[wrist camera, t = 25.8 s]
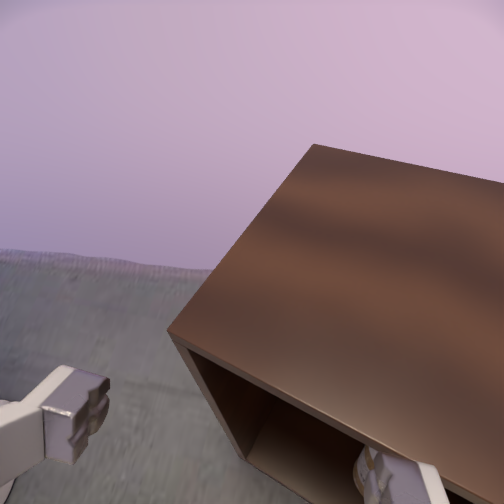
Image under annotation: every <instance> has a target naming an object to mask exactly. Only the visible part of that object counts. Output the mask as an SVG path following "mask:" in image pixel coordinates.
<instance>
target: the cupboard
mask: <svg viewBox="0 0 504 504" xmlns="http://www.w3.org/2000/svg"><path fill="white" fill-rule="evenodd" d="M167 332H168V334H169V336H170V337H171V339H172V341H173V343H174V345H175V346H176V348H177V350H178V352H179V353H180V355H181V357H182V359H183V360H184V362H185V364H186V366H187V367H188V369H189V371H190V372H191V374H192V376H193V378H194V379H195V381H196V383H197V385H198V386H199V388H200V390H201V392H202V393H203V395H204V397H205V398H206V400H207V402H208V404H209V405H210V407H211V409H212V411H213V412H214V414H215V416H216V418H217V419H218V421H219V423H220V425H221V426H222V428H223V430H224V431H225V433H226V435H227V437H228V438H229V440H230V442H231V444H232V445H233V447H234V449H235V451H236V452H237V454H238V456H239V457H240V458H242V459H243V460H245V461H246V462H248V463H249V464H251V465H252V466H254V467H255V468H257V469H259V470H260V471H262V472H263V473H265V474H266V475H268V476H269V477H271V478H272V479H274V480H275V481H277V482H278V483H280V484H282V485H283V486H285V487H286V488H288V489H289V490H291V491H292V492H294V493H295V494H297V495H298V496H300V497H301V498H303V499H305V500H306V501H308V502H309V503H311V504H364V497H363V496H362V495H361V493H360V492H359V490H358V489H357V487H356V485H355V482H354V478H353V468H354V464H355V461H356V460H357V458H358V457H359V456H360V454H361V452H362V450H363V448H364V446H365V445H367V446H369V447H371V448H373V449H374V450H376V451H378V452H379V451H380V452H384V453H388V454H392V455H395V456H399V457H403V458H407V459H411V460H414V461H418V462H422V463H426V464H430V465H434V466H435V468H436V469H437V471H438V474H439V476H440V479H441V482H442V484H443V487H444V489H445V492H446V495H447V497H448V500H449V503H450V504H504V183H500V182H496V181H491V180H486V179H481V178H476V177H471V176H467V175H462V174H457V173H452V172H448V171H442V170H438V169H433V168H428V167H423V166H419V165H413V164H409V163H404V162H399V161H394V160H390V159H385V158H380V157H375V156H370V155H365V154H361V153H356V152H351V151H346V150H342V149H337V148H332V147H327V146H322V145H318V144H313V145H312V146H311V147H310V149H309V150H308V151H307V152H306V154H305V155H304V156H303V157H302V159H301V160H300V161H299V162H298V164H297V165H296V166H295V168H294V169H293V170H292V172H291V173H290V174H289V175H288V177H287V178H286V179H285V180H284V181H283V183H282V184H281V185H280V187H279V188H278V189H277V190H276V192H275V193H274V194H273V195H272V197H271V198H270V199H269V200H268V202H267V203H266V204H265V206H264V207H263V208H262V210H261V211H260V212H259V213H258V214H257V216H256V217H255V218H254V220H253V221H252V222H251V223H250V225H249V226H248V227H247V228H246V230H245V231H244V232H243V234H242V235H241V236H240V237H239V239H238V240H237V241H236V242H235V244H234V245H233V246H232V247H231V249H230V250H229V251H228V253H227V254H226V255H225V256H224V258H223V259H222V260H221V262H220V263H219V264H218V265H217V266H216V268H215V269H214V270H213V272H212V273H211V274H210V275H209V277H208V278H207V279H206V280H205V282H204V283H203V284H202V286H201V287H200V288H199V289H198V291H197V292H196V293H195V294H194V296H193V297H192V298H191V299H190V301H189V302H188V303H187V305H186V306H185V307H184V308H183V310H182V311H181V312H180V313H179V315H178V316H177V317H176V319H175V320H174V321H173V322H172V324H171V325H170V326H169V327H168V329H167Z"/></svg>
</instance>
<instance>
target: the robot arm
mask: <svg viewBox="0 0 504 504" xmlns="http://www.w3.org/2000/svg"><path fill="white" fill-rule="evenodd" d="M109 389H110V379H109V378H107V377H103V376H100V375H97V374H93V373H90V372H87V371H83V370H80V369H76V368H72V367H69V366H66V365H61V366H59V367H57V368H56V369H55V370H54V371H53V372H52V373H50V374H49V375H48V376H47V377H46V378H45V379H44V380H43V381H42V382H41V383H40V384H39V385H38V386H37V387H36V388H34V389H33V390H32V391H31V392H30V393H29V394H28V395H27V396H26V397H25V398H24V399H23V400H22V401H21V402H17V401H14V402H10V401H7V400H0V504H4V502H5V500H6V498H7V496H8V494H9V492H10V490H11V487H12V485H13V482H14V479H15V478H16V477H18V476H19V475H21V474H23V473H24V472H26V471H27V470H29V469H30V468H32V467H34V466H35V465H37V464H38V463H40V462H42V461H43V460H44V459H45V458H48V459H52V460H55V461H59V462H63V463H67V464H71V465H74V464H75V462H76V461H77V460H78V458H79V457H80V455H81V454H82V453H83V451H84V450H85V448H86V447H87V445H88V436H90V435H92V434H94V433H96V432H97V431H98V430H99V428H100V427H101V425H102V424H103V422H104V420H105V417H106V415H107V412H108V408H109V398H108V396H107V395H106V393H107V391H108V390H109ZM373 461H374V467H375V468H374V469H372V470H370V471H369V472H368V474H367V477H366V479H365V485H364V504H450V503H449V500H448V497H447V495H446V492H445V489H444V487H443V484H442V482H441V479H440V476H439V474H438V471H437V469H436V468H435V466H434V465H430V464H426V463H422V462H418V461H414V460H411V459H407V458H403V457H399V456H395V455H392V454H388V453H384V452H380V451H379V452H378V453H377V454H376V456H375V458H374V460H373Z"/></svg>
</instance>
